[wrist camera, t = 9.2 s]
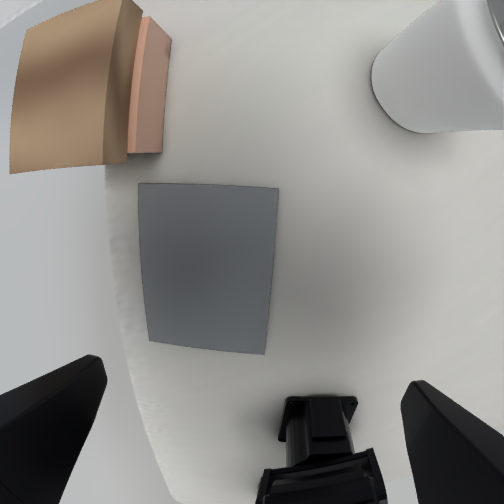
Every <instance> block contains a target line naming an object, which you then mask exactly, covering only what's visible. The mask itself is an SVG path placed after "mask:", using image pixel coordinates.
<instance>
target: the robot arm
mask: <svg viewBox="0 0 504 504" xmlns="http://www.w3.org/2000/svg"><path fill="white" fill-rule="evenodd" d="M106 385H107V375H106V372H105V368H104V365H103V362H102V359H101V358H100V357H98V356H94V355H86V356H84V357H82V358H79V359H78V360H75V361H73V362H71V363H69V364H67V365H65V366H63V367H60V368H58V369H56V370H54V371H52V372H50V373H48V374H45V375H43V376H41V377H39V378H37V379H34V380H32V381H30V382H28V383H26V384H24V385H21V386H19V387H17V388H15V389H13V390H10V391H8V392H6V393H4V394H2V395H0V504H59V502H60V499H61V497H62V494H63V491H64V489H65V487H66V484H67V482H68V480H69V477H70V475H71V472H72V470H73V468H74V465H75V463H76V461H77V458H78V456H79V454H80V451H81V449H82V447H83V445H84V443H85V440H86V438H87V436H88V434H89V431H90V430H91V427H92V425H93V423H94V420H95V417H96V414H97V411H98V408H99V405H100V402H101V400H102V397H103V394H104V391H105V388H106ZM291 402H293V403H291ZM357 405H358V400H357V398H356V397H342V398H300V397H290V398H287V399H286V401H285V406H284V411H283V415H282V420H281V425H280V429H279V434H278V440H279V441H280V442H286V468H279V469H264V473H263V477H262V478H261V482H260V486H259V490H258V494H257V499H256V503H255V504H388V501H387V494H386V489H385V485H384V481H383V478H382V474H381V471H380V468H379V465H378V462H377V459H376V456H375V453H374V450H373V448H370V449H366V451H363V452H359V453H355V451H354V446H353V442H352V437H351V433H350V428H349V423H350V421H351V419H352V416H353V414H354V412H355V409H356V407H357ZM401 413H402V420H403V426H404V433H405V441H406V447H407V452H408V456H409V461H410V465H411V469H412V474H413V478H414V483H415V488H416V492H417V498H418V502H419V504H504V437H503V435H502V434H500V433H499V432H497V431H496V430H495V429H493V428H492V427H490V426H489V425H487V424H486V423H485V422H483V421H482V420H480V419H479V418H477V417H476V416H474V415H473V414H472V413H470V412H469V411H467V410H466V409H464V408H463V407H462V406H460V405H459V404H457V403H456V402H454V401H453V400H452V399H450V398H449V397H447V396H446V395H444V394H443V393H442V392H440V391H439V390H437V389H436V388H434V387H433V386H432V385H430V384H429V383H427V382H426V381H424V380H418V381H412V382H411V383H410V384H409V386H408V388H407V390H406V392H405V394H404V396H403V398H402V400H401Z"/></svg>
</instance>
